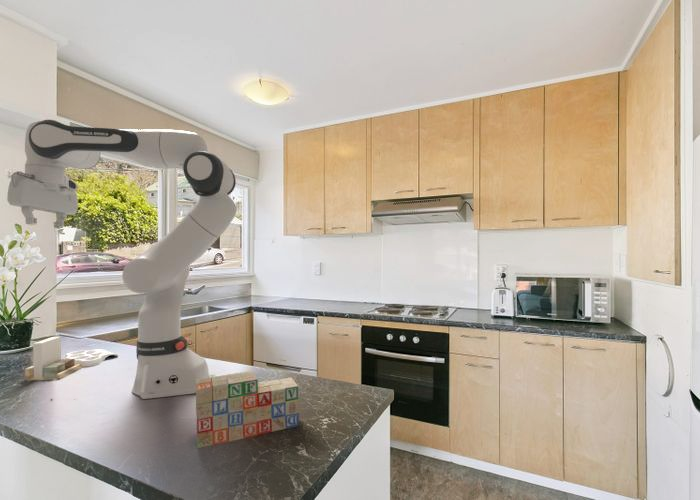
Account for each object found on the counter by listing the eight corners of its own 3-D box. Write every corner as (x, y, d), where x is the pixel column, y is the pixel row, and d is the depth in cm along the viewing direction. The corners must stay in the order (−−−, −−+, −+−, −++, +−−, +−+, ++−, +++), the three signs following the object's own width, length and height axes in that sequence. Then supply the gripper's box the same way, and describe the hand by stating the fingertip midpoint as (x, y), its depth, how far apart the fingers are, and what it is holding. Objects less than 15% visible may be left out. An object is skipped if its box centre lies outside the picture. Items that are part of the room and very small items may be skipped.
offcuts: (63, 369, 117) (63, 359, 117) (74, 369, 117) (74, 358, 117) (43, 378, 108) (43, 367, 108) (55, 378, 109) (55, 367, 109)
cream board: (53, 370, 116) (52, 336, 116) (61, 369, 116) (60, 336, 116) (33, 379, 108) (33, 343, 108) (42, 378, 108) (42, 343, 108)
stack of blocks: (292, 415, 85) (291, 364, 85) (299, 427, 80) (298, 372, 80) (196, 434, 77) (195, 378, 77) (196, 449, 71) (195, 388, 71)
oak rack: (49, 372, 117) (49, 358, 117) (81, 371, 118) (81, 357, 118) (24, 383, 107) (24, 369, 107) (60, 382, 108) (59, 367, 108)
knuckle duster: (122, 362, 128) (74, 374, 116) (100, 354, 138) (54, 365, 126) (122, 353, 128) (73, 364, 116) (100, 346, 138) (53, 355, 126)
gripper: (24, 169, 92) (24, 221, 91) (81, 186, 112) (82, 229, 112) (-1, 169, 92) (-1, 222, 91) (61, 186, 112) (61, 230, 112)
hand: (45, 226), depth 102 cm, fingers open, 8 cm apart
